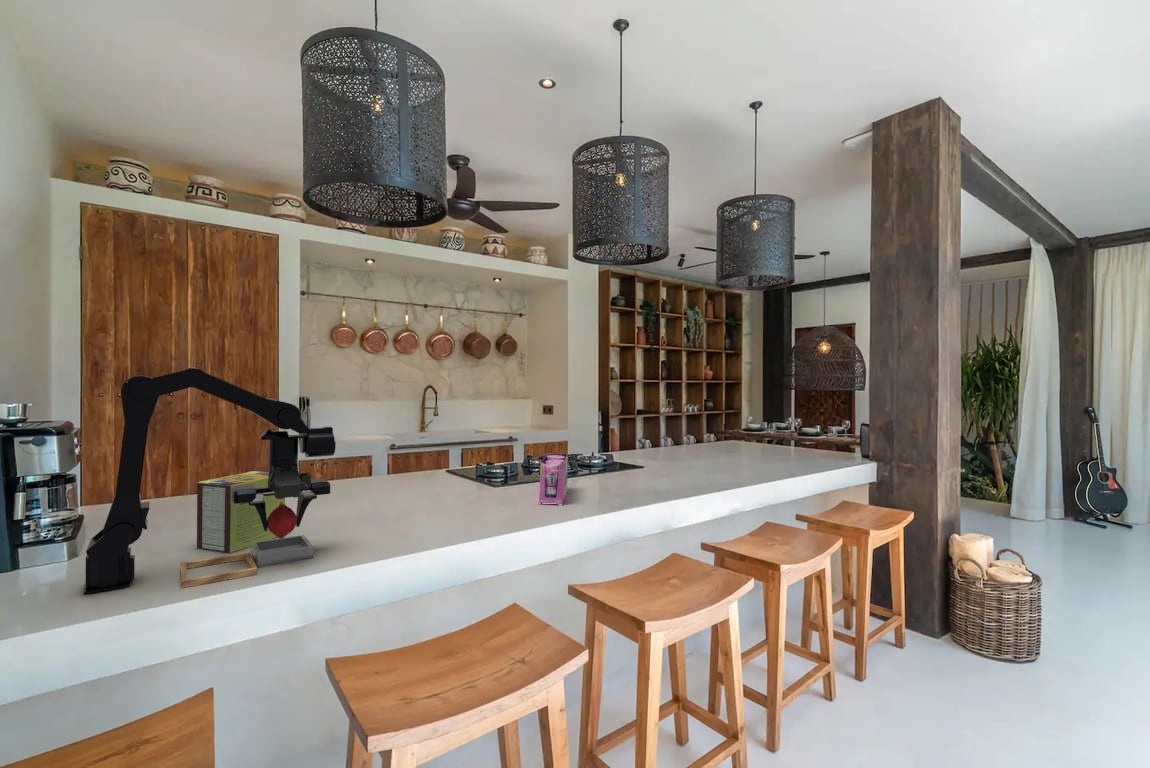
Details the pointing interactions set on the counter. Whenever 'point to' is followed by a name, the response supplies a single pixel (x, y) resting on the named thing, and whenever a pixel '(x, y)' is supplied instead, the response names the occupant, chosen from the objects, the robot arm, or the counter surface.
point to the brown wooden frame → (217, 577)
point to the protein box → (231, 513)
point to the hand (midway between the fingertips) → (281, 528)
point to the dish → (281, 550)
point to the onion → (281, 521)
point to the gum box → (553, 478)
